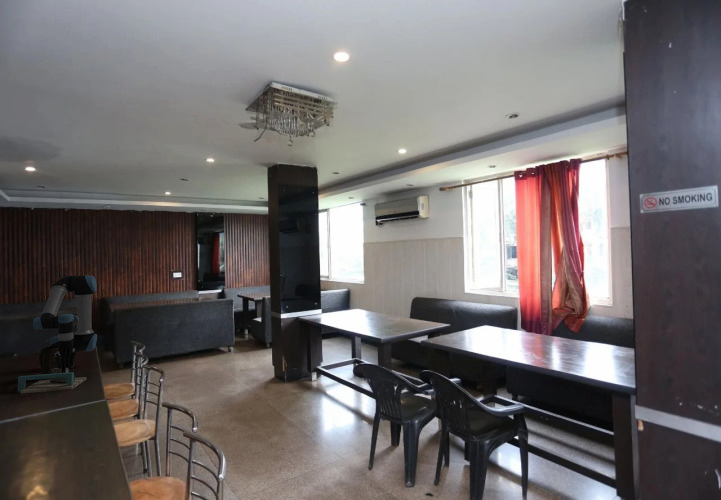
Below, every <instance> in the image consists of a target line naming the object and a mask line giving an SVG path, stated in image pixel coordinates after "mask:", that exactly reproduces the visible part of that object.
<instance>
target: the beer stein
mask: <svg viewBox="0 0 721 500" xmlns="http://www.w3.org/2000/svg"><path fill="white" fill-rule="evenodd" d="M56 352H58V346H51V347H50V346H47V347H46V346H45V347H43V348H42V349H40V353H39V356H38V357H39V359H38V360H39V365H40V370H39V371H40V373H41V374H40V375H42V374H53V371H51V369H54V368H58V365H57V362H56V358H55V356H54V355H53V354H54V353H56ZM59 354H60V353H59ZM59 356H60V358H61V355H59ZM57 373H62V369H61V368H58V370H57ZM43 380H50V378H49V379H40V381H43Z"/></svg>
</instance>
